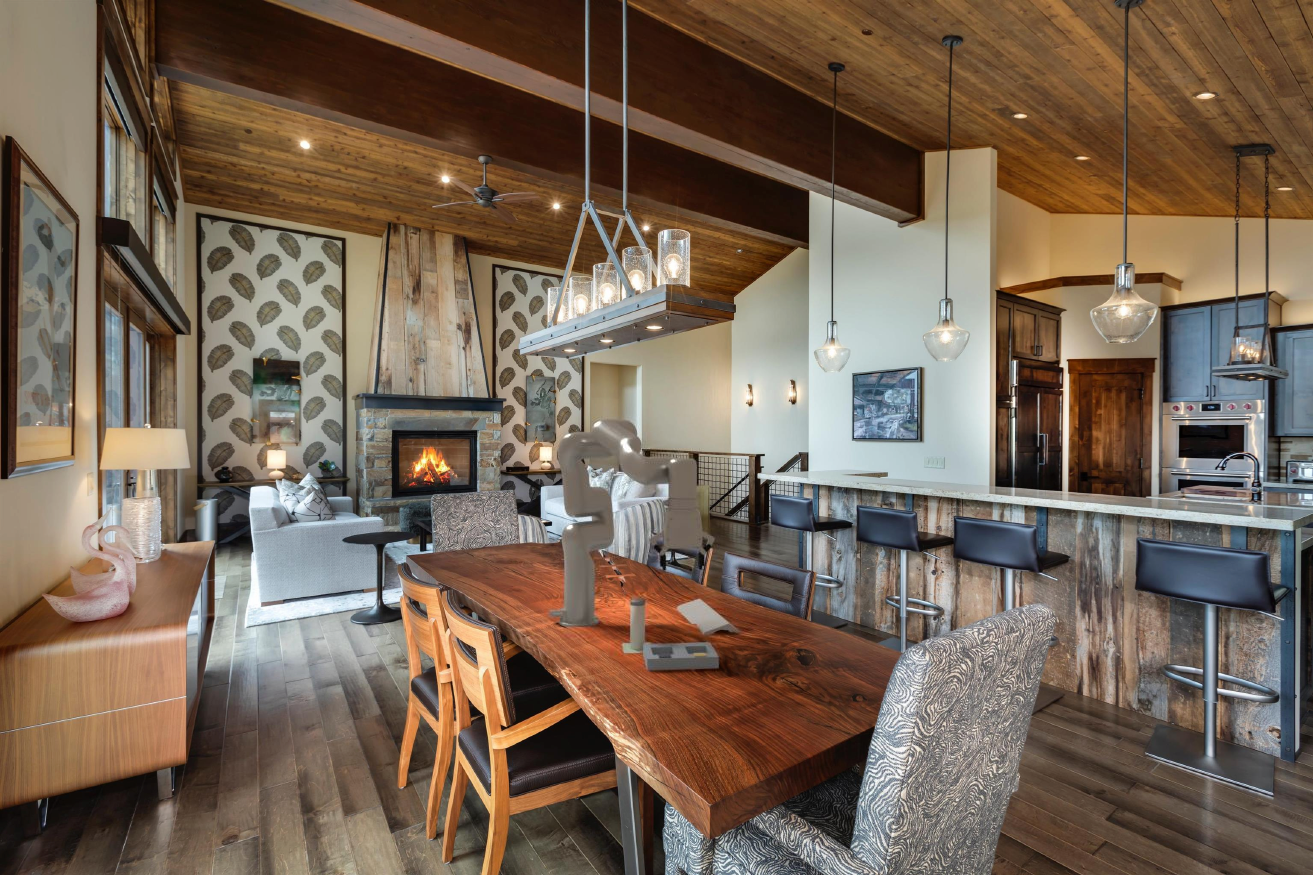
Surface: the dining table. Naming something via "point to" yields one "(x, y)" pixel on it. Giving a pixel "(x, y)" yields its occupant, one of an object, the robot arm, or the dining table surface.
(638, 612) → the plug
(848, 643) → the dining table surface
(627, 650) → the square base plate
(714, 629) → the crown molding
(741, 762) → the dining table surface
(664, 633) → the dining table surface
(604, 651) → the dining table surface
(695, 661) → the socket block
